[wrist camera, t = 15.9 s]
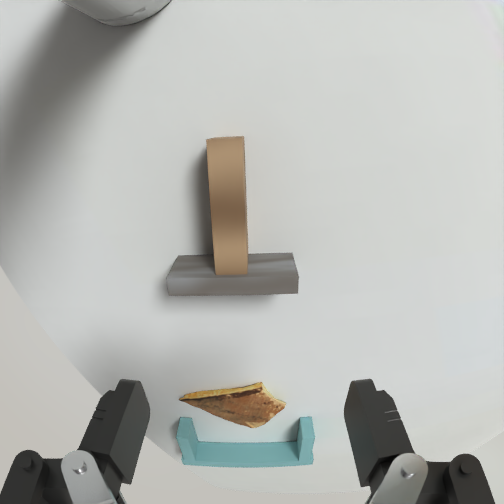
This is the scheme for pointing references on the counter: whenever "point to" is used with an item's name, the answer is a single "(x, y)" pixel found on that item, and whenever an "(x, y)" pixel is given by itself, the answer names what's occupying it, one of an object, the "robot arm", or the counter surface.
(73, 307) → the counter surface
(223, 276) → the hammer
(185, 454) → the u-shaped bracket
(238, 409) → the shard
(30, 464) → the robot arm
